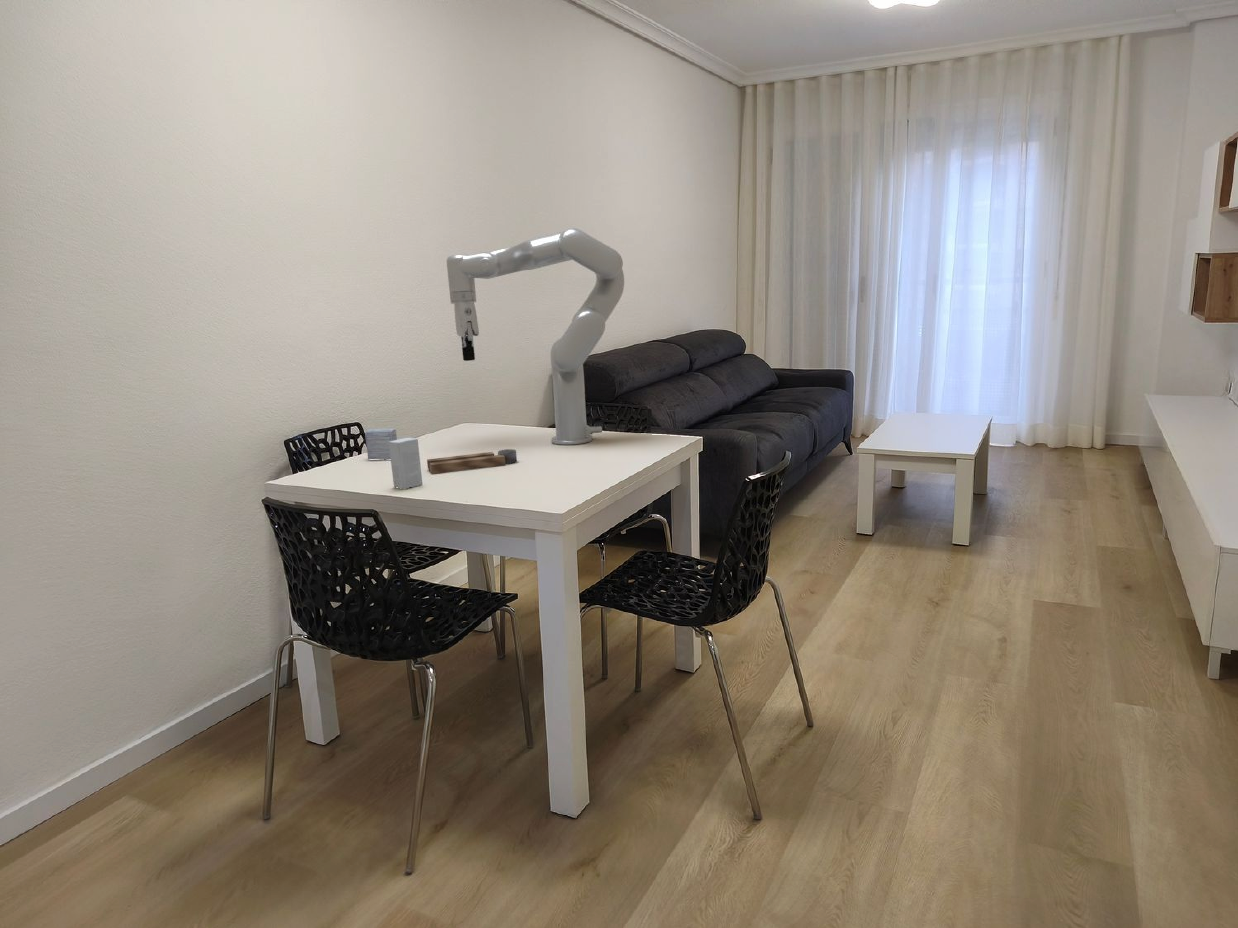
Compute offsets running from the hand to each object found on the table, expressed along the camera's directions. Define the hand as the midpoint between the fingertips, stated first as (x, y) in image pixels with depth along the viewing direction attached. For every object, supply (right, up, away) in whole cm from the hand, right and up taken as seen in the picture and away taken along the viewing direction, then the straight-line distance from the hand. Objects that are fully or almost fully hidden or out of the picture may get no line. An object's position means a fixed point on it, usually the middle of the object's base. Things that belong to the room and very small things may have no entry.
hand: (469, 360), depth 263 cm
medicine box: (-24, -30, -5) cm, 39 cm away
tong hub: (+5, -32, -22) cm, 39 cm away
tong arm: (+1, -31, -21) cm, 38 cm away
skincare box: (-8, -37, -42) cm, 56 cm away
